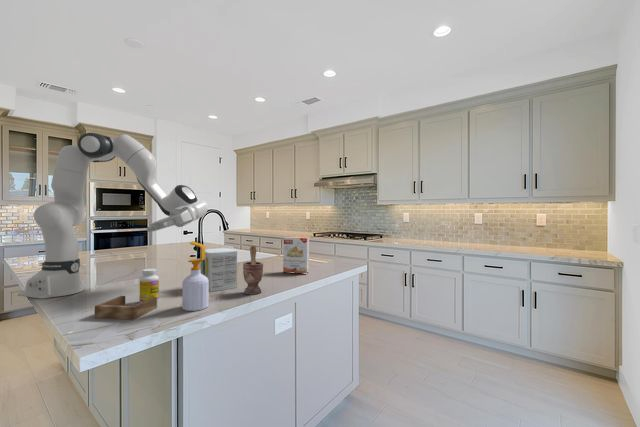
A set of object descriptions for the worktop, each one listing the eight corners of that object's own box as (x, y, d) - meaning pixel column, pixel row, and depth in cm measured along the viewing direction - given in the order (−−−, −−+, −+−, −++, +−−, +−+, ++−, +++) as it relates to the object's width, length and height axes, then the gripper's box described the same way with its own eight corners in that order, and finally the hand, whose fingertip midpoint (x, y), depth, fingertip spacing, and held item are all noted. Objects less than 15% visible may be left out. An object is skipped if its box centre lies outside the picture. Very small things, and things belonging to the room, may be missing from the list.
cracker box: (282, 273, 178) (283, 237, 178) (285, 271, 184) (286, 236, 184) (306, 274, 176) (307, 237, 175) (308, 272, 182) (309, 236, 181)
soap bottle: (187, 304, 121) (187, 240, 120) (211, 303, 121) (211, 240, 121) (178, 311, 112) (178, 243, 111) (204, 311, 112) (204, 243, 112)
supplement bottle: (150, 305, 118) (150, 271, 118) (135, 304, 120) (135, 270, 120) (162, 300, 125) (162, 268, 125) (148, 299, 126) (148, 267, 126)
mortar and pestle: (238, 290, 142) (238, 246, 141) (256, 287, 146) (256, 245, 146) (246, 296, 132) (247, 249, 132) (265, 293, 137) (266, 248, 136)
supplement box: (199, 286, 148) (199, 249, 147) (226, 282, 156) (226, 247, 156) (209, 292, 137) (209, 252, 137) (237, 287, 146) (237, 250, 146)
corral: (94, 317, 105) (94, 306, 105) (121, 306, 117) (121, 295, 117) (133, 319, 103) (133, 307, 103) (156, 307, 116) (156, 297, 116)
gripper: (162, 215, 146) (136, 226, 134) (192, 205, 137) (168, 215, 125) (167, 227, 147) (143, 239, 135) (198, 218, 139) (175, 230, 126)
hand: (155, 227), depth 130 cm, fingers open, 8 cm apart
